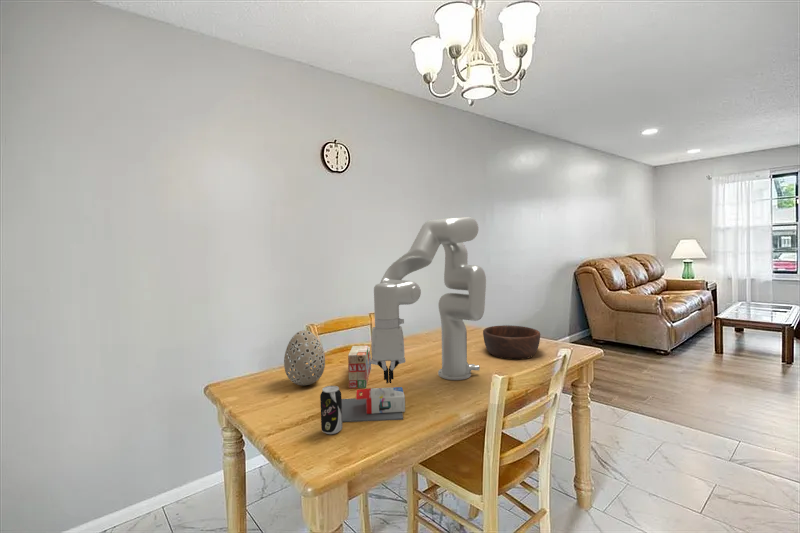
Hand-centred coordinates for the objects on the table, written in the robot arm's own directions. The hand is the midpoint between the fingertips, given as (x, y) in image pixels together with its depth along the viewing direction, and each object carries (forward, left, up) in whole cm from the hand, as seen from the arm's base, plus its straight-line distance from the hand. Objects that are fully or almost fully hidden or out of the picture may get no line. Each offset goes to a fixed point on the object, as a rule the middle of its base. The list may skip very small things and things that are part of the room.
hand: (388, 381), depth 123 cm
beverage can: (+16, +13, -9) cm, 23 cm away
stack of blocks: (+10, -29, -9) cm, 32 cm away
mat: (+6, 0, -8) cm, 11 cm away
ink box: (-5, 0, -6) cm, 7 cm away
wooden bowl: (-57, -54, -9) cm, 79 cm away
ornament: (+30, -24, -9) cm, 39 cm away
